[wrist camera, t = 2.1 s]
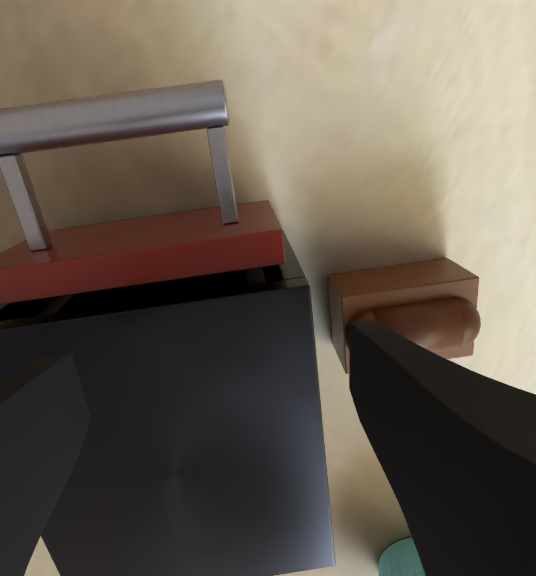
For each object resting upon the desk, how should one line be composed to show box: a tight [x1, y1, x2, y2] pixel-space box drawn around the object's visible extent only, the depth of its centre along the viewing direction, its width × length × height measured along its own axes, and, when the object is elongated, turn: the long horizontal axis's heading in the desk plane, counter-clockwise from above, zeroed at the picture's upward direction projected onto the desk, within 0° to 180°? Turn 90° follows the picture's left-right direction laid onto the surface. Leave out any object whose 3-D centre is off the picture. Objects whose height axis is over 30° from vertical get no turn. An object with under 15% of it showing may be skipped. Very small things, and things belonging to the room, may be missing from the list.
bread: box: [328, 258, 481, 374], centre depth 20 cm, size 6×4×4 cm, turn 97°
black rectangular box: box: [0, 230, 335, 576], centre depth 19 cm, size 14×12×8 cm
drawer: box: [0, 80, 286, 316], centre depth 17 cm, size 17×10×6 cm, turn 7°
